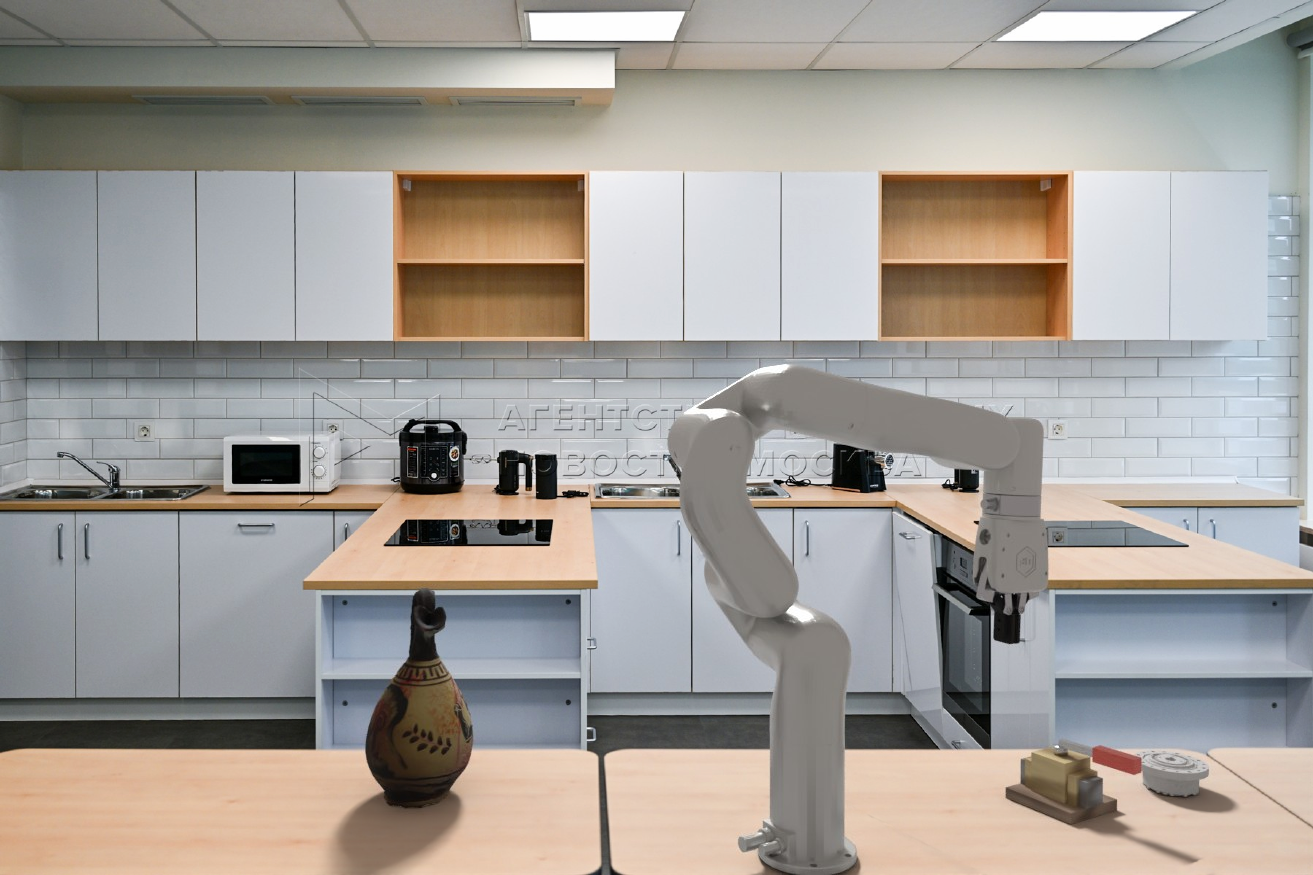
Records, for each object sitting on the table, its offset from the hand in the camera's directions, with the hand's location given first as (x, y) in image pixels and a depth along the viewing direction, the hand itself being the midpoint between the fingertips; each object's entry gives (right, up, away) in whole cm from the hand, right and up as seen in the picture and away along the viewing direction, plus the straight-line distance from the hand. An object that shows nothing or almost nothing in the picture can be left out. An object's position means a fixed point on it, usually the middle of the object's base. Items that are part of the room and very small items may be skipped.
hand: (1006, 641), depth 132 cm
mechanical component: (+33, -23, +10) cm, 41 cm away
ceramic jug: (-83, -25, +11) cm, 87 cm away
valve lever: (+13, -18, +3) cm, 22 cm away
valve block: (+10, -25, +7) cm, 28 cm away
